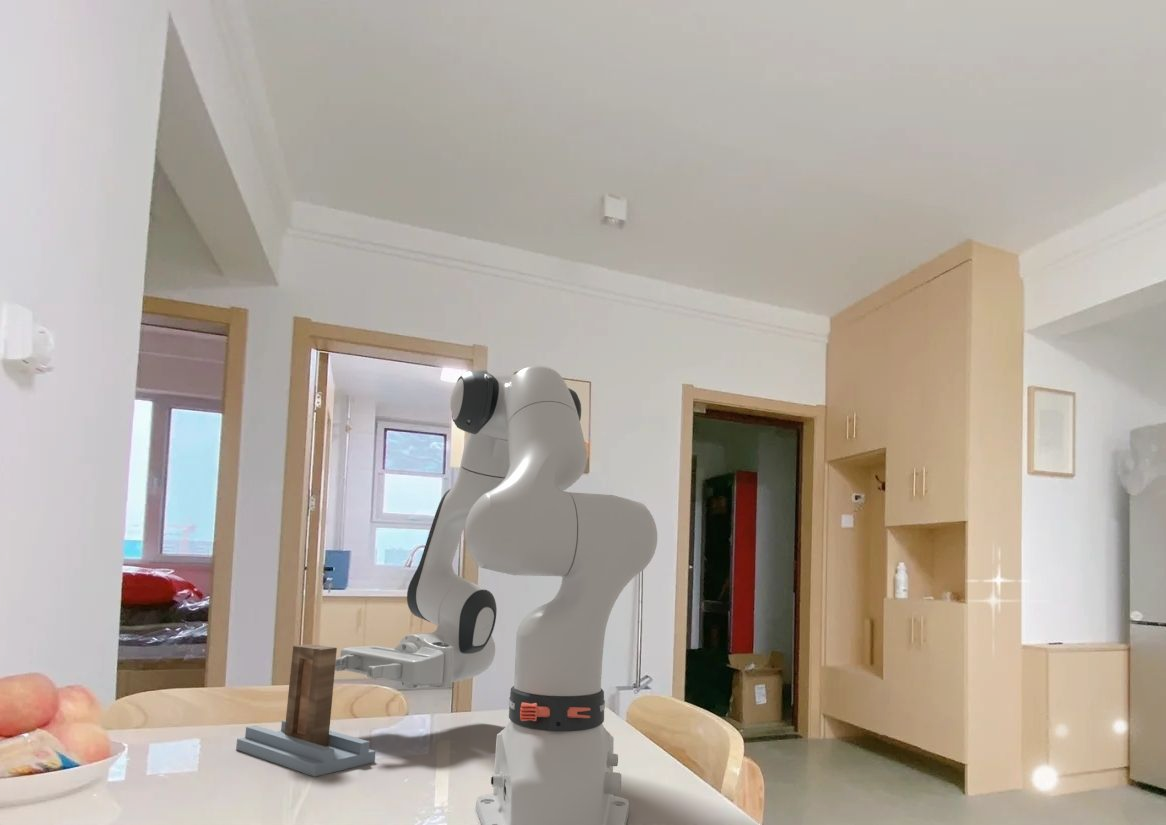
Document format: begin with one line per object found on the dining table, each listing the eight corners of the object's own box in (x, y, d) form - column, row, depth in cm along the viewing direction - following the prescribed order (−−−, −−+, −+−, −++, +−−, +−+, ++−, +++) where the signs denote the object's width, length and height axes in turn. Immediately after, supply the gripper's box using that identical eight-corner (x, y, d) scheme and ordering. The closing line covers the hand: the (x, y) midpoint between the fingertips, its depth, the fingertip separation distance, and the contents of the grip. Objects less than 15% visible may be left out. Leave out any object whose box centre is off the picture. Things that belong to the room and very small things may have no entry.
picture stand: (374, 761, 109) (376, 740, 110) (314, 776, 101) (316, 753, 102) (295, 737, 121) (297, 718, 121) (236, 749, 113) (238, 728, 114)
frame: (327, 745, 111) (336, 647, 114) (312, 750, 109) (321, 649, 111) (299, 739, 114) (308, 644, 117) (283, 743, 111) (293, 645, 114)
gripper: (380, 635, 136) (314, 641, 125) (460, 647, 124) (394, 655, 113) (377, 671, 135) (310, 680, 124) (457, 687, 123) (390, 699, 112)
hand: (351, 668), depth 119 cm, fingers open, 8 cm apart
